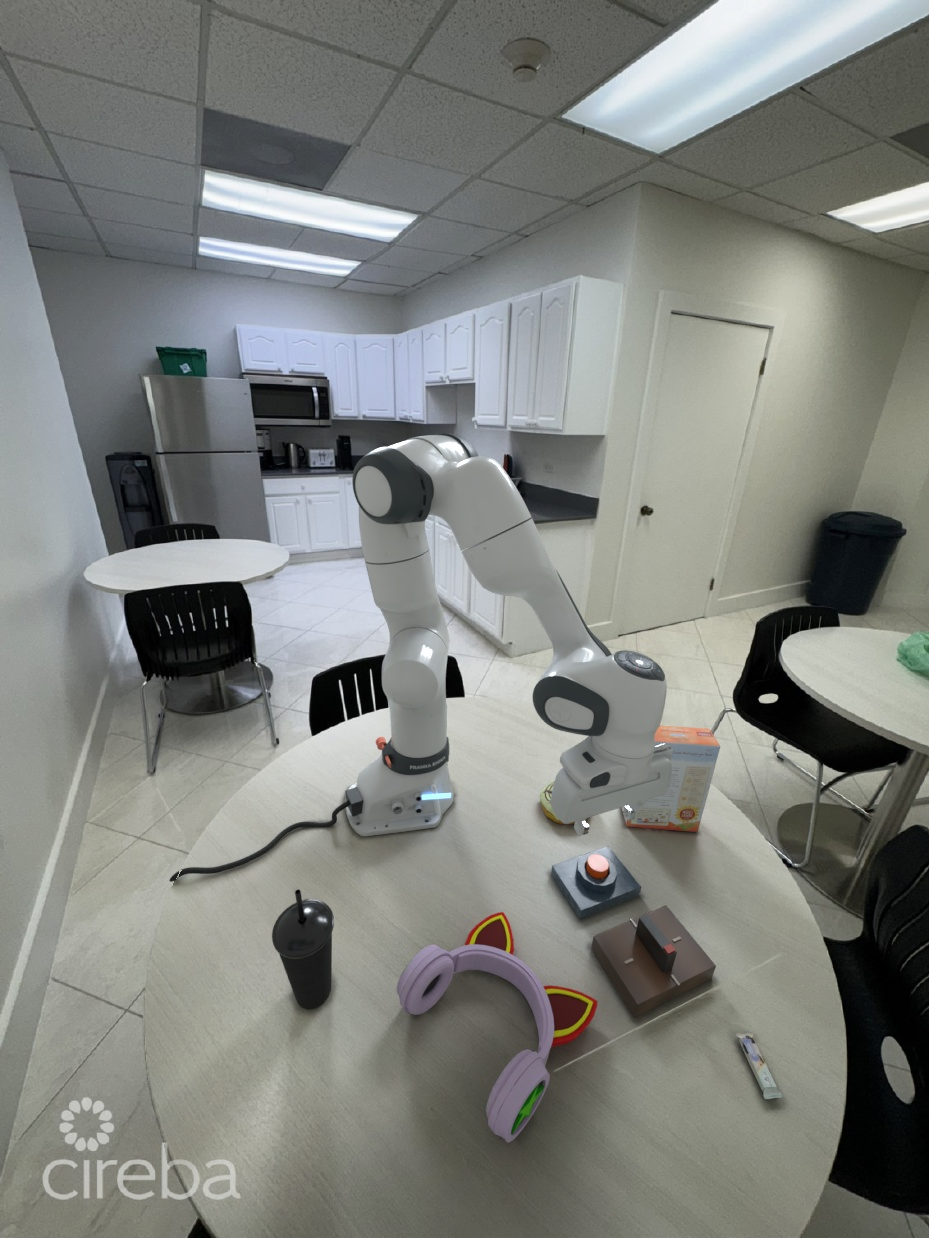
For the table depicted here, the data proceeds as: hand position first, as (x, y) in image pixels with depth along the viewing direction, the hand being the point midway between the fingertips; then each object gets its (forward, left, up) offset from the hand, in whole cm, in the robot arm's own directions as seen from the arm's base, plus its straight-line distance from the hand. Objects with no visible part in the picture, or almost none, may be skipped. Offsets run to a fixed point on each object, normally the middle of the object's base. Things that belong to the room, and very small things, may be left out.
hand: (605, 824), depth 79 cm
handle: (0, -14, -11) cm, 18 cm away
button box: (0, 0, -15) cm, 15 cm away
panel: (0, -14, -15) cm, 20 cm away
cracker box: (+21, +8, -15) cm, 27 cm away
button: (0, 0, -11) cm, 11 cm away
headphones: (-24, -12, -15) cm, 30 cm away
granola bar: (+4, -29, -15) cm, 32 cm away
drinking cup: (-47, 0, -15) cm, 49 cm away
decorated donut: (+5, +17, -15) cm, 23 cm away
